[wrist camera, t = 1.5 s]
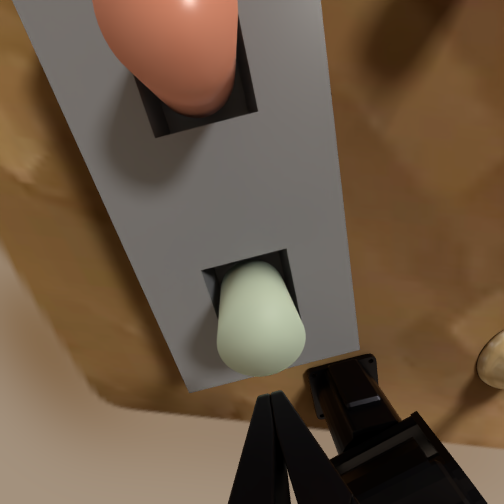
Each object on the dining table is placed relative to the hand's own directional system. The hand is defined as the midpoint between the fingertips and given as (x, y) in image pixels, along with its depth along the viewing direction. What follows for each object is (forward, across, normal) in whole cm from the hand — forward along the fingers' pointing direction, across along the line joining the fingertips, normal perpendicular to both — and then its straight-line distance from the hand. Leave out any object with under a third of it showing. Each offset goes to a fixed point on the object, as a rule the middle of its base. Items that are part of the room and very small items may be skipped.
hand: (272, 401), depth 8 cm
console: (+12, 0, -6) cm, 13 cm away
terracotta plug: (+8, 0, -12) cm, 14 cm away
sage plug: (+8, 0, 0) cm, 8 cm away
